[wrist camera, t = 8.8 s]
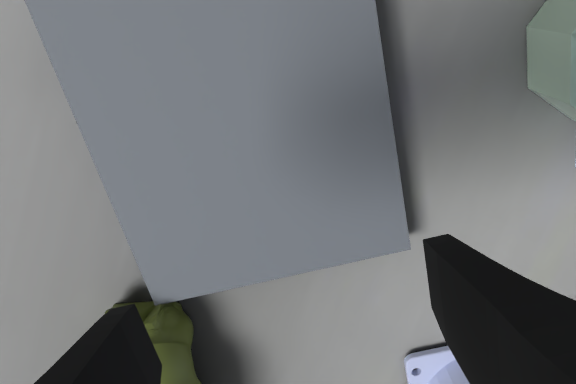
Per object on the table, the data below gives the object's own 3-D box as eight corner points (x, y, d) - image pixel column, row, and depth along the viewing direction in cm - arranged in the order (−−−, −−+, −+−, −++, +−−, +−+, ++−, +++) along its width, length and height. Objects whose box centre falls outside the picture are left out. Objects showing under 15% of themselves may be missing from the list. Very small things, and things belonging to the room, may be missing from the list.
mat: (403, 236, 22) (410, 249, 21) (160, 290, 23) (154, 305, 22) (354, -100, 17) (360, -106, 16) (32, -17, 17) (17, -17, 16)
